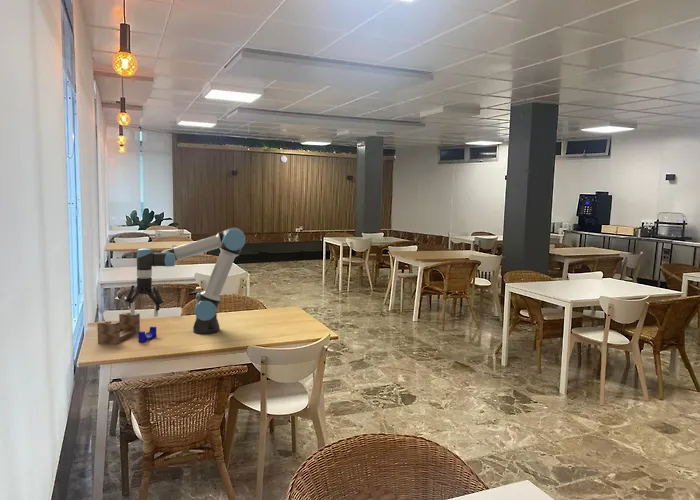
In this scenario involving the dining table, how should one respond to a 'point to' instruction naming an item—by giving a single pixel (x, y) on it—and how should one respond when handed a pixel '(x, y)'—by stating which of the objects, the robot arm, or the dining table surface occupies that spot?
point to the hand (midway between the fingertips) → (144, 315)
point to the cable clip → (147, 335)
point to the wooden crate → (118, 328)
